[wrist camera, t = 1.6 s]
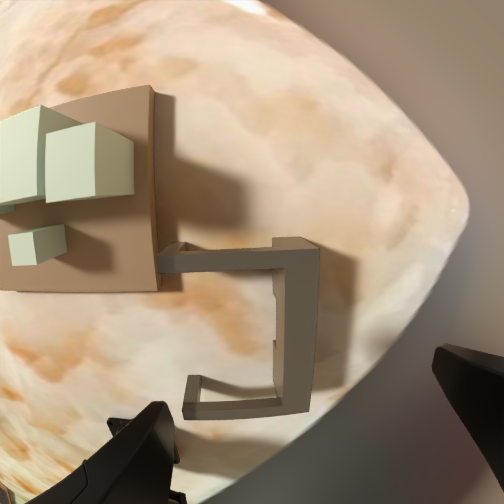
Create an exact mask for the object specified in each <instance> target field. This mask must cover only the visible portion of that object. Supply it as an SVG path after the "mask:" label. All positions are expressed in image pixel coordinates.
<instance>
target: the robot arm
mask: <svg viewBox="0 0 504 504" xmlns="http://www.w3.org/2000/svg"><path fill="white" fill-rule="evenodd" d="M432 371H433V373H434V375H435V377H436V379H437V381H438V382H439V384H440V386H441V388H442V390H443V392H444V394H445V395H446V397H447V399H448V401H449V403H450V404H451V406H452V407H453V409H454V410H455V412H456V413H457V415H458V416H459V418H460V419H461V421H462V422H463V424H464V426H465V427H466V428H467V430H468V432H469V433H470V435H471V436H472V438H473V440H474V441H475V443H476V445H477V446H478V448H479V449H480V451H481V453H482V454H483V456H484V458H485V459H486V461H487V463H488V464H489V466H490V468H491V470H492V471H493V473H494V475H495V477H496V479H497V480H498V482H499V484H500V486H501V488H502V490H503V492H504V357H501V356H497V355H493V354H488V353H484V352H480V351H475V350H471V349H467V348H463V347H459V346H454V345H451V344H443V345H440V346H438V347H437V348H436V349H435V353H434V358H433V363H432ZM107 425H108V427H109V429H110V431H111V433H112V435H113V438H112V439H110V440H109V441H108V442H107V443H106V444H105V445H104V446H103V447H101V448H100V449H99V450H98V451H97V452H96V453H94V454H93V455H92V456H91V457H90V458H89V459H88V460H84V461H83V463H82V465H80V466H79V467H78V468H77V469H76V470H74V471H73V472H72V473H71V474H69V475H68V476H67V477H66V478H64V479H63V480H62V481H60V482H59V483H57V484H56V485H54V486H53V487H51V488H50V489H48V490H46V491H45V492H43V493H42V494H40V495H38V496H37V497H35V498H33V499H32V500H30V501H28V502H27V503H25V504H187V501H186V495H185V494H184V493H181V492H176V491H173V490H170V486H171V479H172V472H173V464H178V463H179V462H180V458H179V455H178V452H177V449H176V446H175V443H174V421H173V418H172V415H171V413H170V410H169V408H168V405H167V403H166V402H164V401H153V402H151V403H150V404H149V405H148V406H147V407H146V408H145V409H144V410H142V411H141V412H140V413H139V414H138V415H137V416H136V417H135V418H134V419H133V420H123V419H115V418H108V420H107Z"/></svg>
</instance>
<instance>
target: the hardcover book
mask: <svg viewBox="0 0 504 504" xmlns="http://www.w3.org/2000/svg"><path fill="white" fill-rule="evenodd" d="M0 503H1V504H11V501H10V498H9V494H8V490H7V487H6V486H4V485H3V484H2V483H0Z"/></svg>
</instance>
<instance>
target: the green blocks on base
mask: <svg viewBox="0 0 504 504" xmlns="http://www.w3.org/2000/svg"><path fill="white" fill-rule="evenodd" d="M154 99H155V91H154V90H153V89H152V87H151V86H150V85H145V86H139V87H133V88H127V89H122V90H117V91H112V92H107V93H103V94H99V95H94V96H90V97H86V98H82V99H79V100H75V101H71V102H68V103H64V104H61V105H58V106H54V107H51V108H47V107H45V106H42V105H39V106H36V107H33V108H31V109H28V110H26V111H23V112H20V113H18V114H15V115H13V116H11V117H8V118H6V119H4V120H2V121H0V290H5V291H44V292H129V291H158V289H159V288H160V286H161V285H162V280H161V274H158V266H157V255H158V254H159V250H158V238H157V225H156V209H155V188H154Z"/></svg>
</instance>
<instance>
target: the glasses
mask: <svg viewBox="0 0 504 504" xmlns="http://www.w3.org/2000/svg"><path fill="white" fill-rule="evenodd" d="M319 249H320V248H318V247H316V246H315V245H313V244H311V243H310V242H308V241H306V240H305V239H303V238H301V237H278V238H272V247H264V248H242V249H221V250H200V251H186V242H172V243H170V244H169V245H168V246H167V247H166V248H165V249H164V250H163V251H161V252H160V253H159V254H158V255H157V266H158V274H163V273H189V272H212V271H233V270H253V269H272V268H273V294H274V296H275V298H276V340H273V382H274V386H275V390H276V394H277V398H268V399H256V400H241V401H220V402H200V393H201V378H200V375H188V378H187V384H186V390H185V395H184V401H183V407H182V413H183V418H184V420H232V419H249V418H262V417H272V416H281V415H290V414H297V413H304V412H309V408H310V399H311V390H312V380H313V369H314V357H315V343H316V328H317V311H318V288H319Z"/></svg>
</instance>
